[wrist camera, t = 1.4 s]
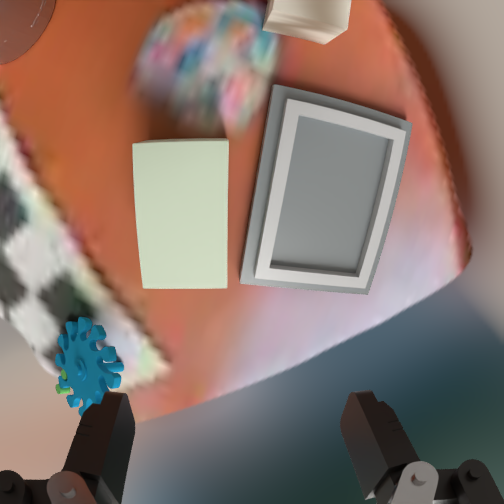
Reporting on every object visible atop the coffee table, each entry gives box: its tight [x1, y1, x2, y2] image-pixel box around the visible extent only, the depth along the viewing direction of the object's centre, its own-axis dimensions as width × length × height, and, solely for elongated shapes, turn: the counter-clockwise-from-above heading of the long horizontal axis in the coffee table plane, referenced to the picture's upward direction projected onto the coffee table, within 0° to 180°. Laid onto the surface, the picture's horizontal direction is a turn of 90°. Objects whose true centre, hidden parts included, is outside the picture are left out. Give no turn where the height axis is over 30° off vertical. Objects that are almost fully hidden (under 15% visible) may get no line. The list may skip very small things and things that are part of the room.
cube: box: [262, 0, 351, 45], centre depth 17 cm, size 5×5×5 cm
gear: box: [55, 317, 124, 417], centre depth 28 cm, size 11×6×10 cm
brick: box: [133, 138, 229, 289], centre depth 23 cm, size 10×6×5 cm, turn 178°
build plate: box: [239, 84, 412, 295], centre depth 25 cm, size 12×16×2 cm
